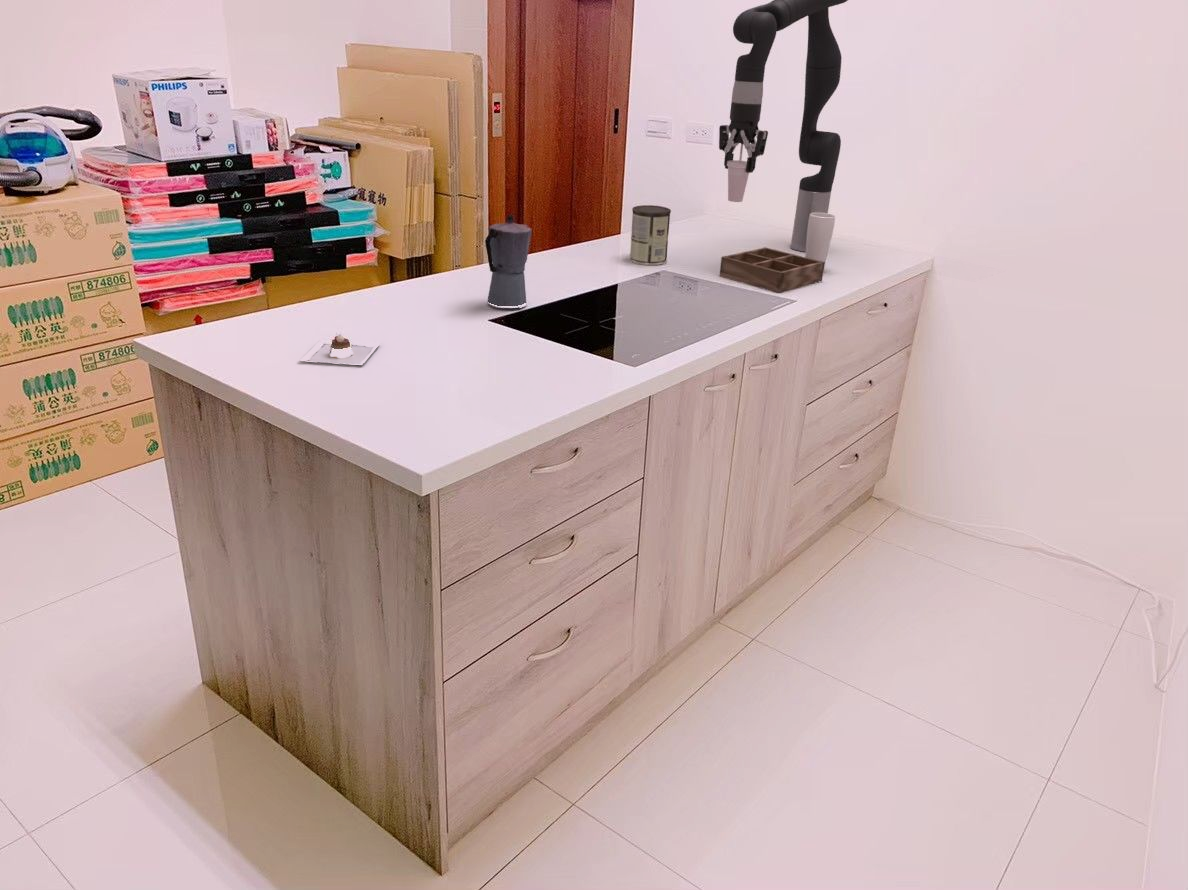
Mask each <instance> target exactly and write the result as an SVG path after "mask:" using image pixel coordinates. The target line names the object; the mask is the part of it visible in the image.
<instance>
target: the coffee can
mask: <svg viewBox="0 0 1188 890" xmlns="http://www.w3.org/2000/svg"><path fill="white" fill-rule="evenodd" d="M631 208H632V209H631V210H632V219H631V232H630V233H631V234H630V236H631V237H630V250H629V251H630V252H629V253H630V254H629V261H630V262H631V263H633V264H636V265H641V266H650V265H654V266H661V265H660V264H662V265H665V264H666V263H667V262H668V261H667V258H668V246H669V245H668V243H669V231H670V219H671V212H672V210H671V209H670V208H669V207H666V206H660V205H652V204H648V205H647V204H646V205H645V204H644V205H636V206H633V207H631ZM664 263H665V264H664Z"/></svg>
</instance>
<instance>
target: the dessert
mask: <svg viewBox="0 0 1188 890" xmlns="http://www.w3.org/2000/svg"><path fill="white" fill-rule="evenodd" d="M331 340H332V344H331V345H330V348H331V347H332V348H334V349H343V348H348V347H350V342H349V341H350V340H349V339H348V338H344V336H343V335H342V334H341V333H339V334H338V335H337V333H336V334H335V336H334V339H331Z"/></svg>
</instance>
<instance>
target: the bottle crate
mask: <svg viewBox="0 0 1188 890" xmlns="http://www.w3.org/2000/svg"><path fill="white" fill-rule="evenodd" d="M824 265H825V266H826V262H822V261H818V260H814V259H810V258H806V257H805V256H801V255H798V254H793V253H789V252H787V251H786V252H785V251H782V250H777V249H774V248H770V247H761V248H757V249H751V250H746V251H743V252H738V253H734V254H729V255H724V256H721V258H720V268H719V277H723V278H726V279H730V280H732V281H736V282H740V283H742V282H743V283H744V284H747V285H750V286H754V287H756V286H757V287H756V288H760V287H761V289H763V288H764V290H767V289H768V291H770V290H771V291H772V292H774V293H778V294H780V292H781V293H785V292H788V291H791V289H792V290H795V289H799V288H802V286H803V287H806V286H810V285H813V284H816V283H815V282H817V283H820V282H819V281H821V282H823V278H824V277H823V276H824V271H825V267H824ZM809 284H810V285H809ZM805 285H806V286H805ZM787 290H788V291H787ZM784 291H785V292H784Z"/></svg>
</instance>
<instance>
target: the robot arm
mask: <svg viewBox="0 0 1188 890" xmlns="http://www.w3.org/2000/svg"><path fill="white" fill-rule="evenodd" d="M848 1H849V0H771V1H770V2H768V3H764V4H762V5H761V4H760V5H757V6H755V7H751V8H748V9H746V10H744V11H742V12H741V13H740V14H738V16H737V17H736V18H735V20H734V23H733V26H732V33H733V36H734V38H735V39H736V41H738V42H739V43H741V44H748V45H749V44H750V45H751V44H752V46H751V48H750V51H749V53H746V54H742V55H739V57H738V58H737V61H736V66H735V73H734V83H733V87H732V94H731V102H730V112H729V120H730V123H729V125H728V124H722V125H719V130H718V132H719V137H718V140H719V141H718V149H719V150H720V151H723V152H724V162H723V163H724V164H723V165H724V169H726V170H728V166H727V162H728V161H731V160H734V155H735V153H734V151H735V150H736V148H737V146H739V144H740V145H741V144H743V147H744V148H745V150H746V152H747V156H748V157H747V159H746V161H747V166H746V172H747V173H749V174H750V173H751V174H752V173H753V172H754V171H755V169H756V163H757V158H758V157H760V156H764V154H765V149H766V144H767V141H768V135H769V132H768V130H761V129H759V125H758V124H759V122H760V120H761V113H762V104H763V95H764V78H765V70H766V69H765V68H766V64H767V61H768V58H769V56H770V53H771V50H772V47H773V45H774V42H775V39H776V36H777V32H780V31H782V30H784V29H786V28H789V27H790V26H791V25H793V24H794V23H796V22H799V21H800V20H802V19H804V18H806V17H807V23H808V27H807V28H808V29H807V52H806V62H805V74H804V75H805V77H804V79H805V80H804V99H803V100H804V101H803V114H802V120H801V127H800V128H801V129H800V135H799V143H798V144H799V145H798V158H799V161H800V162H801V163H802V164H806V165H813V166H820V169H819V172H817V173H815V174H813V175H808V176H805V177H802V178H801V179H800V181H799V187H798V194H797V201H796V208H795V214H794V222H793V227H792V235H791V243H790V248H791V249H793V250H795V251H799V252H805V253H806V240H807V228H808V221H809V216H810V214H811V213H828V214H829V209H830V208H829V207H830V202H831V197H832V196H831V195H832V190H833V189H832V188H833V184H834V180H835V176H836V171H837V165H838V161H839V157H840V154H841V153H840V152H841V146H842V142H841V141H842V139H841V136H840V134H839V133H837V132H831V131H821V130H817V127H818V125H817V124H818V120H819V118H820V114H821V113H822V111H823V109H824V107H825V106H826V104H827V103H828V102H829V100H830V99H831V98H832V96H833V95H834V93H835V92H836V91H837V89H838V86H839V84H840V79H841V72H842V53H841V50H840V47H839V45H838V41H837V39H836V37H835V35H834V32H833V29H832V27H831V23H830V16H829V15H830V14H829V10H830V9H829V8H831V7H834V6H838V5H842V4H844V3H846V2H848Z"/></svg>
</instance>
